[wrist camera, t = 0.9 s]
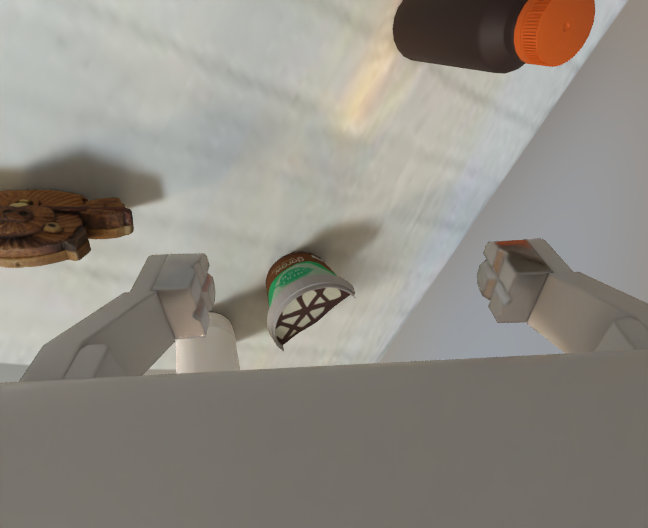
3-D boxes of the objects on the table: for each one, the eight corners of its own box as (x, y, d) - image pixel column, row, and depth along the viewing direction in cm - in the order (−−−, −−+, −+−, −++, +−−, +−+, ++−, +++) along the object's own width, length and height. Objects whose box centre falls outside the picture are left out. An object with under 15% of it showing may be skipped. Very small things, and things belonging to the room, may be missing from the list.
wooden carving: (131, 178, 41) (120, 215, 33) (139, 216, 44) (130, 260, 36) (-58, 184, 36) (-125, 229, 28) (-37, 227, 39) (-94, 281, 31)
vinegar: (450, 44, 45) (604, 55, 28) (400, 71, 44) (526, 97, 28) (439, -24, 40) (611, -55, 24) (384, 5, 40) (520, -7, 24)
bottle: (238, 312, 55) (284, 539, 31) (228, 353, 58) (263, 587, 34) (179, 309, 51) (179, 561, 27) (172, 353, 55) (166, 612, 31)
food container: (309, 226, 51) (333, 264, 43) (332, 255, 55) (359, 295, 47) (237, 281, 52) (248, 328, 44) (265, 306, 56) (279, 353, 48)
